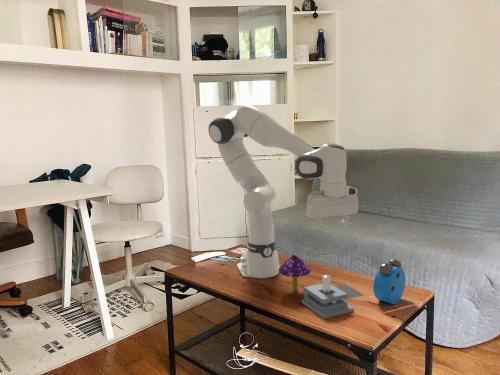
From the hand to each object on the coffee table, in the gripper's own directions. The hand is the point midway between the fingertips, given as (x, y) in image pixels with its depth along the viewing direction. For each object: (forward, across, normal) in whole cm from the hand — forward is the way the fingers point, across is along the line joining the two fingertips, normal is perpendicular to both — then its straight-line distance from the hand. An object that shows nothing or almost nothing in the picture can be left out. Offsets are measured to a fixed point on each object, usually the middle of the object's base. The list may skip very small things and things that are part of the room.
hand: (331, 227), depth 145 cm
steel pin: (+25, -6, -6) cm, 27 cm away
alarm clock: (+26, +17, -12) cm, 34 cm away
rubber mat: (+27, +6, +2) cm, 27 cm away
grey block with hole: (+27, -6, -6) cm, 28 cm away
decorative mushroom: (+27, -9, +11) cm, 31 cm away
